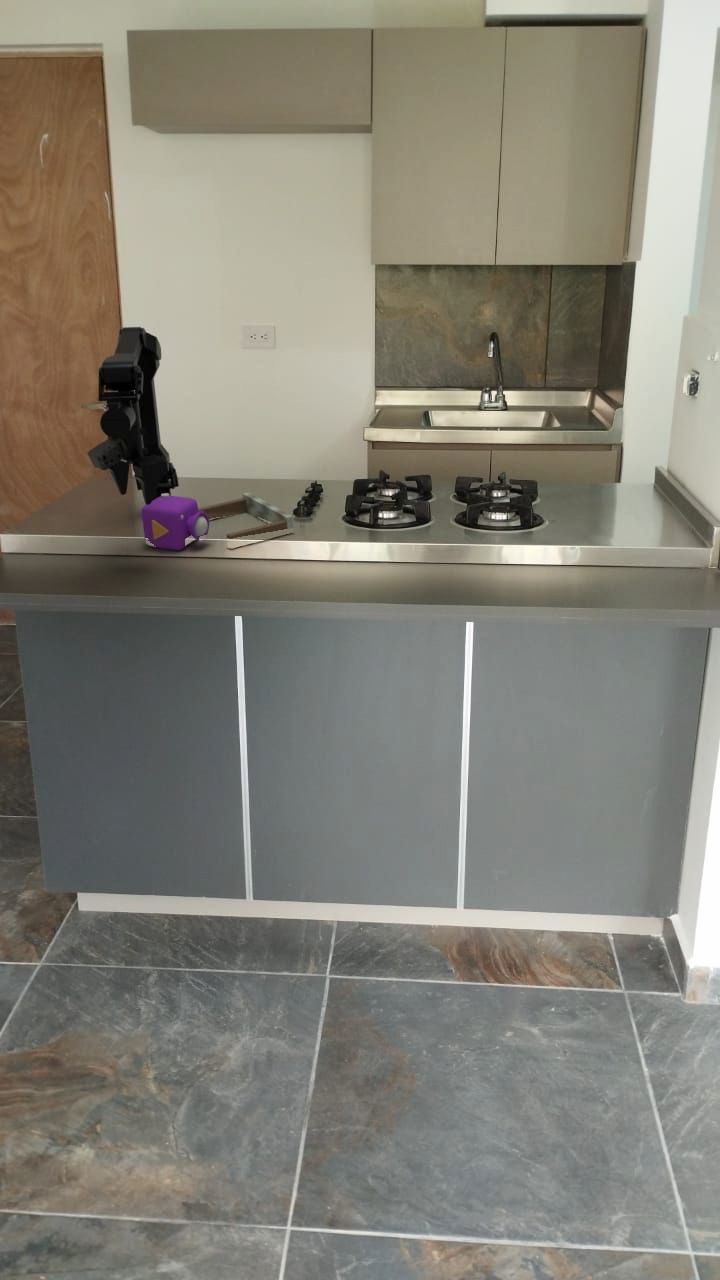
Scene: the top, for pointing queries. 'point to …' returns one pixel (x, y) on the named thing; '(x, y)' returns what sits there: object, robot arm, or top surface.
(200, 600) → the top surface
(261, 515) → the walnut dock
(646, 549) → the top surface
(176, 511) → the toy camera
